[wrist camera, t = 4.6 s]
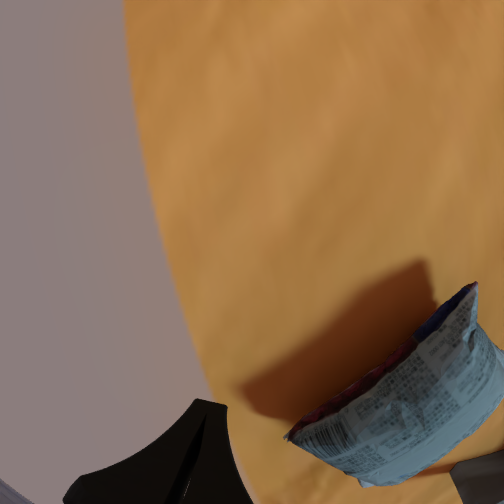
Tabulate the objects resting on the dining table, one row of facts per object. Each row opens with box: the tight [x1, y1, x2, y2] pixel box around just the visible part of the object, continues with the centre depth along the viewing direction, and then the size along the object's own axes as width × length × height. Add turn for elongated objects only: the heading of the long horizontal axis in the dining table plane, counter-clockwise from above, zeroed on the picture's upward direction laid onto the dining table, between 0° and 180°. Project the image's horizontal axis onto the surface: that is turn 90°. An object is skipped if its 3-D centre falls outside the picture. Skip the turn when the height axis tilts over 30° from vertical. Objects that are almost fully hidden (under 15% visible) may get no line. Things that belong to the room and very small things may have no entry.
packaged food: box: [283, 281, 504, 488], centre depth 11 cm, size 9×12×5 cm
